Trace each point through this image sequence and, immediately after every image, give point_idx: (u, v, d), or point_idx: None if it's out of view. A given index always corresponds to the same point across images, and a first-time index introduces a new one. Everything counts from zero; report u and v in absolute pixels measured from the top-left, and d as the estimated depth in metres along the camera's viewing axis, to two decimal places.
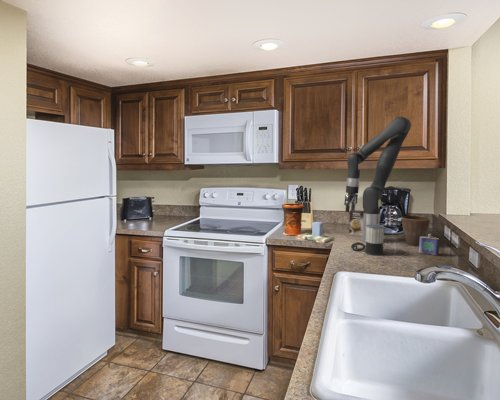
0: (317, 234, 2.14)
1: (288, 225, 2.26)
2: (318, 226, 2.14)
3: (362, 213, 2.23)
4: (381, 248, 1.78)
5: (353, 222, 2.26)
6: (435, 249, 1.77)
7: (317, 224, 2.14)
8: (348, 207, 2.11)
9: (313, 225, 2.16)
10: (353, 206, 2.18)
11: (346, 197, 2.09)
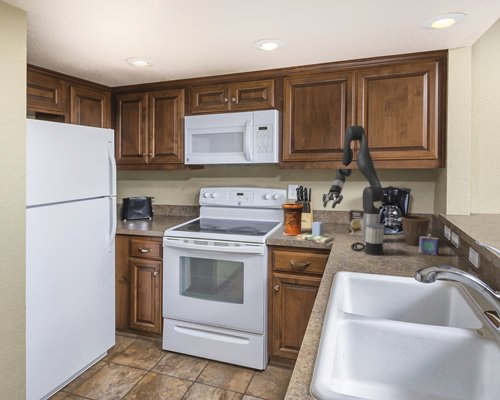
0: (317, 234, 2.14)
1: (288, 225, 2.26)
2: (318, 226, 2.14)
3: (362, 213, 2.23)
4: (381, 248, 1.78)
5: (353, 222, 2.26)
6: (435, 249, 1.77)
7: (317, 224, 2.14)
8: (324, 202, 2.30)
9: (313, 225, 2.16)
10: None
11: None
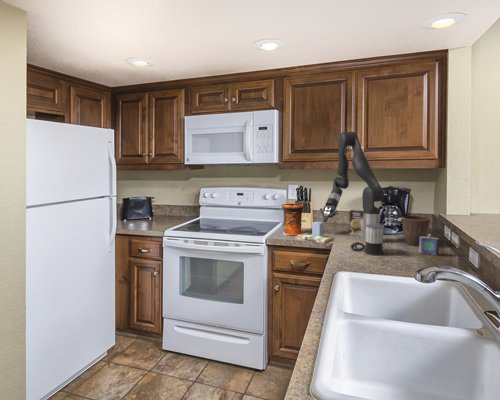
0: (317, 234, 2.14)
1: (288, 225, 2.26)
2: (318, 226, 2.14)
3: (362, 213, 2.23)
4: (380, 248, 1.79)
5: (353, 222, 2.26)
6: (435, 249, 1.77)
7: (317, 224, 2.14)
8: (324, 217, 2.26)
9: (313, 225, 2.16)
10: None
11: None
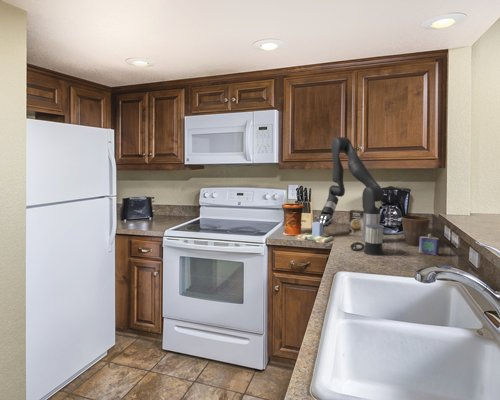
0: (317, 234, 2.14)
1: (288, 225, 2.26)
2: (318, 226, 2.14)
3: (362, 213, 2.23)
4: (380, 248, 1.79)
5: (353, 222, 2.26)
6: (435, 249, 1.77)
7: (317, 224, 2.14)
8: None
9: (313, 225, 2.16)
10: None
11: (316, 220, 2.27)
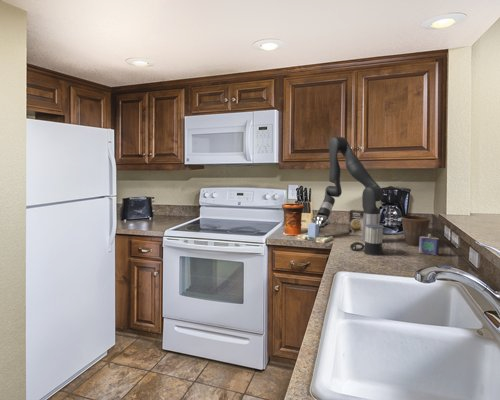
0: (313, 235, 2.10)
1: (288, 225, 2.26)
2: (314, 227, 2.10)
3: (362, 213, 2.23)
4: (380, 248, 1.79)
5: (353, 222, 2.26)
6: (435, 249, 1.77)
7: (313, 225, 2.10)
8: None
9: (309, 226, 2.12)
10: None
11: (312, 221, 2.23)
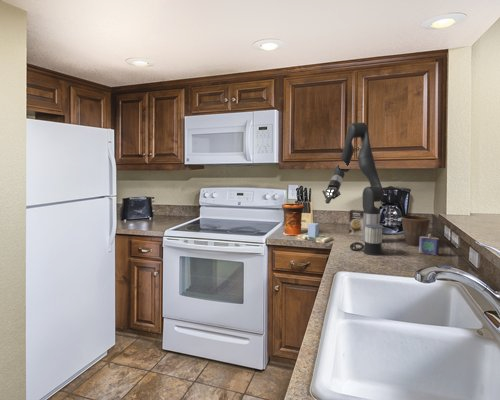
0: (313, 235, 2.10)
1: (288, 225, 2.26)
2: (314, 227, 2.10)
3: (362, 213, 2.23)
4: (379, 248, 1.79)
5: (353, 222, 2.26)
6: (435, 249, 1.77)
7: (313, 225, 2.10)
8: (326, 198, 2.26)
9: (309, 226, 2.12)
10: None
11: (323, 193, 2.32)
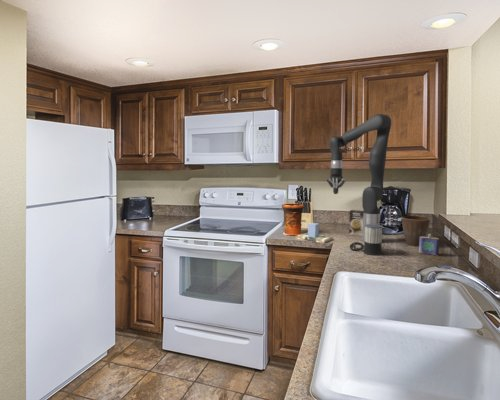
0: (313, 235, 2.10)
1: (288, 225, 2.26)
2: (314, 227, 2.10)
3: (362, 213, 2.23)
4: (379, 248, 1.79)
5: (353, 222, 2.26)
6: (435, 249, 1.77)
7: (313, 225, 2.10)
8: (334, 189, 2.27)
9: (309, 226, 2.12)
10: None
11: None
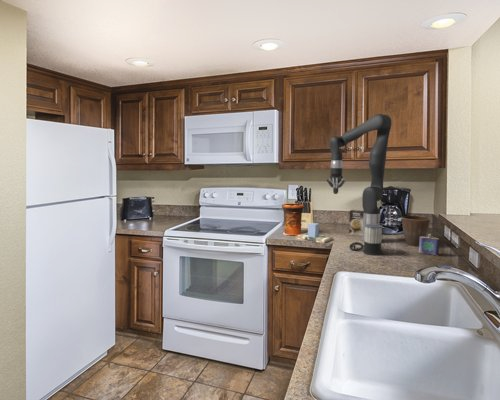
0: (313, 235, 2.10)
1: (288, 225, 2.26)
2: (314, 227, 2.10)
3: (362, 213, 2.23)
4: (379, 248, 1.79)
5: (353, 222, 2.26)
6: (435, 249, 1.77)
7: (313, 225, 2.10)
8: (334, 189, 2.27)
9: (309, 226, 2.12)
10: None
11: None
